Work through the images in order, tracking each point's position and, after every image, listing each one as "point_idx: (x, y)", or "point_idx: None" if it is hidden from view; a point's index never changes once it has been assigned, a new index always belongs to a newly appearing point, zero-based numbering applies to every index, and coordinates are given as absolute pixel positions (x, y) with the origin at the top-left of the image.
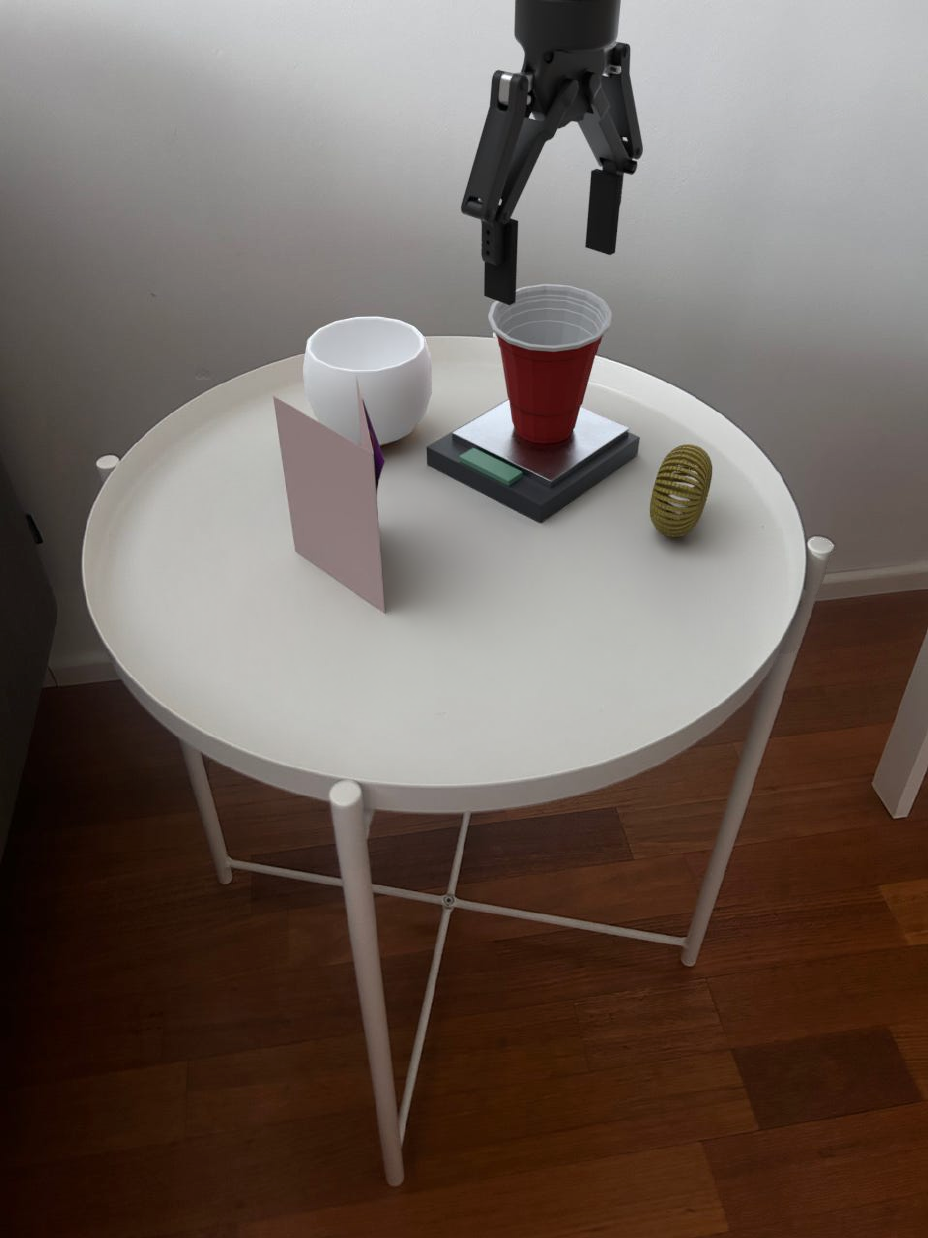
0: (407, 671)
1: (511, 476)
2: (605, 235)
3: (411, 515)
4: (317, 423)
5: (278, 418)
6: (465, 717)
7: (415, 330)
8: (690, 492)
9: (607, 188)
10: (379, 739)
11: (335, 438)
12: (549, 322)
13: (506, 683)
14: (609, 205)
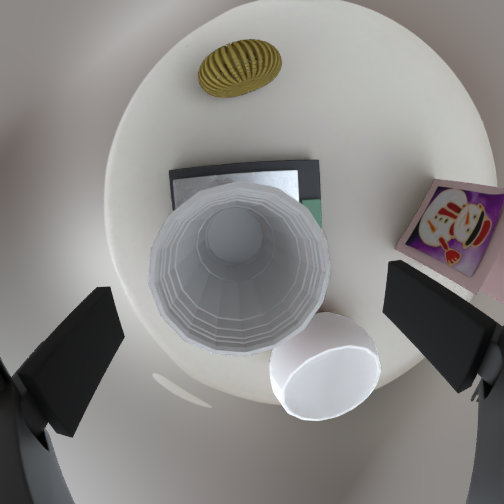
0: (448, 139)
1: (314, 202)
2: (100, 315)
3: (368, 240)
4: None
5: (494, 294)
6: (445, 98)
7: (286, 384)
8: (241, 59)
9: (60, 378)
10: (470, 124)
11: None
12: (195, 301)
13: (423, 91)
14: (72, 346)
